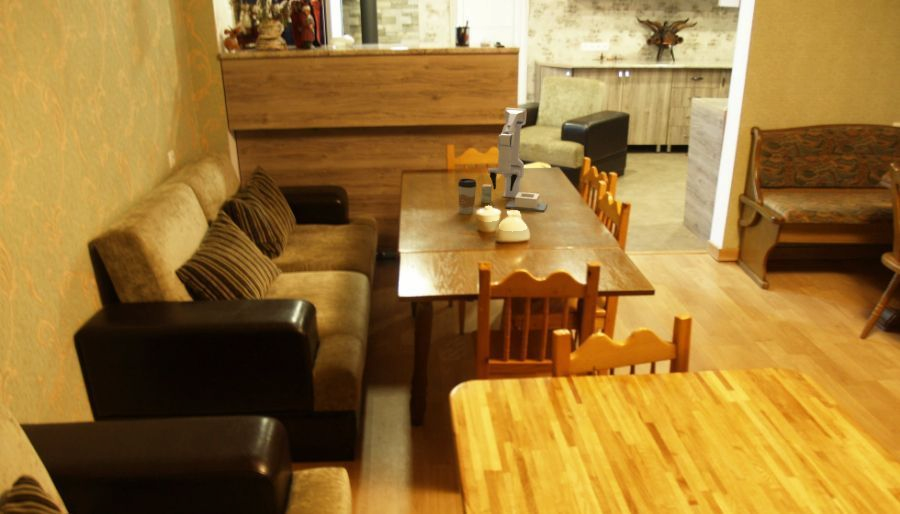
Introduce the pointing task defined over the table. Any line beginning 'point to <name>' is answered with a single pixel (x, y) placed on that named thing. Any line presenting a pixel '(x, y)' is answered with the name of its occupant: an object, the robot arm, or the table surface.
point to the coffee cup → (466, 195)
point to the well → (527, 202)
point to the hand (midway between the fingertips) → (502, 189)
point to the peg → (486, 193)
